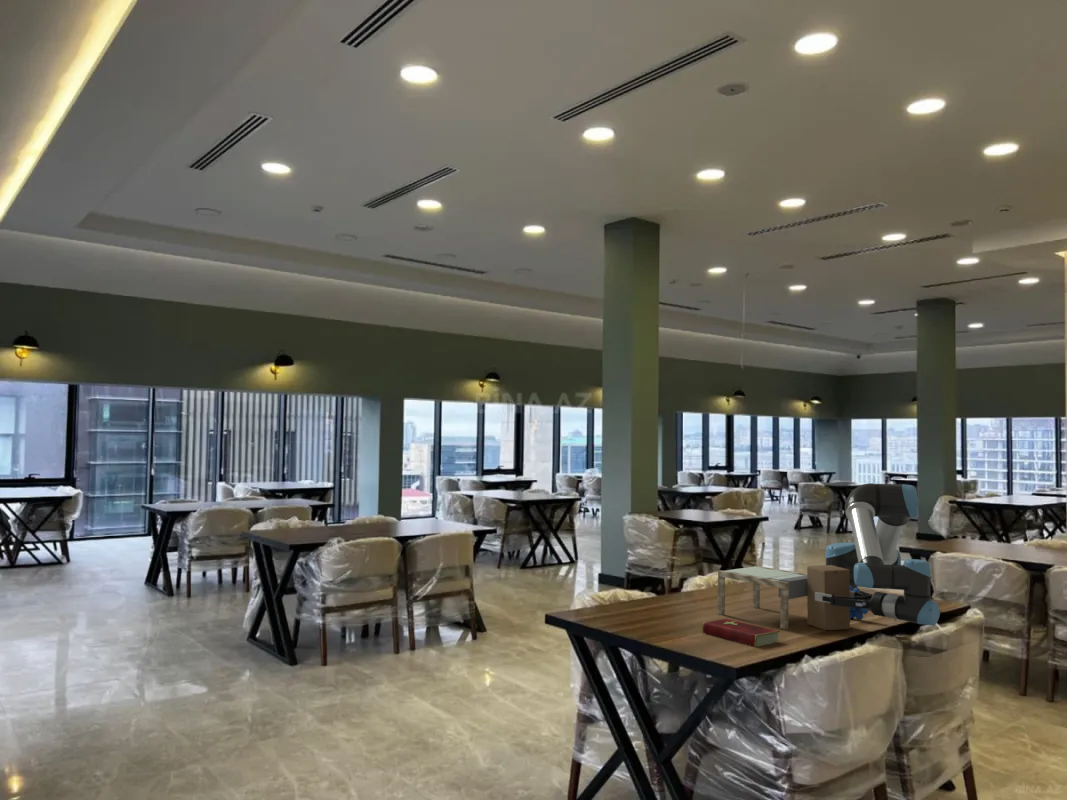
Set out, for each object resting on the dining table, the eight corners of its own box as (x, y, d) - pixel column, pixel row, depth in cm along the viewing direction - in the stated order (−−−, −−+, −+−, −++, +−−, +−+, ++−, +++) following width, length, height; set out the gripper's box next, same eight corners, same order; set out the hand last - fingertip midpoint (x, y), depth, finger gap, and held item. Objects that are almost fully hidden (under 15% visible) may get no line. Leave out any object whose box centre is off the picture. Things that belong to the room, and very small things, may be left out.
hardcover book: (755, 648, 246) (755, 634, 246) (702, 634, 263) (702, 621, 263) (779, 643, 253) (779, 629, 254) (726, 629, 270) (726, 617, 270)
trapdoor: (817, 593, 285) (817, 576, 285) (786, 599, 273) (786, 581, 273) (754, 582, 305) (754, 566, 305) (723, 587, 293) (723, 570, 293)
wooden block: (850, 629, 272) (850, 569, 273) (825, 631, 270) (824, 570, 270) (831, 622, 282) (831, 564, 283) (807, 624, 279) (806, 565, 280)
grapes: (830, 617, 291) (830, 583, 292) (839, 615, 296) (839, 581, 296) (862, 623, 283) (862, 588, 283) (870, 620, 287) (871, 586, 288)
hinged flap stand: (822, 621, 285) (823, 576, 286) (785, 629, 271) (785, 582, 271) (755, 607, 307) (755, 565, 307) (717, 614, 292) (718, 570, 293)
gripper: (867, 621, 252) (805, 609, 269) (905, 612, 268) (844, 601, 284) (867, 597, 253) (805, 586, 269) (905, 589, 268) (844, 579, 285)
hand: (825, 594), depth 277 cm, fingers closed on wooden block, 12 cm apart
